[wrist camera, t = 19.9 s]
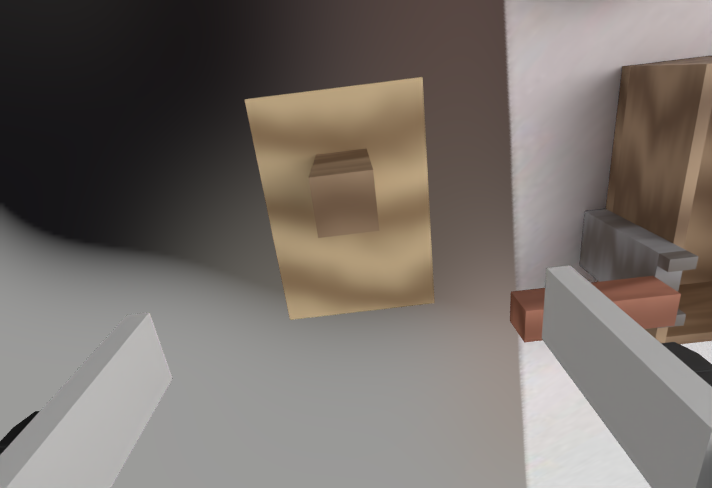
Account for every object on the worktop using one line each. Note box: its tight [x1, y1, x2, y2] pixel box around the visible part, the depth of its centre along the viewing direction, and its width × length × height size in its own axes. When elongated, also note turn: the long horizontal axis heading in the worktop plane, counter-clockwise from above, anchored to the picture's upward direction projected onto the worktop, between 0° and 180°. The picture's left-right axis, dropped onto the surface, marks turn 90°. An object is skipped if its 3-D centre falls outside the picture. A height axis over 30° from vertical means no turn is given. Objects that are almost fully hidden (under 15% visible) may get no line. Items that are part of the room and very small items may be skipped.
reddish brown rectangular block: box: [510, 276, 681, 342], centre depth 27 cm, size 2×10×2 cm, turn 97°
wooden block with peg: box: [245, 77, 434, 320], centre depth 32 cm, size 19×13×9 cm
